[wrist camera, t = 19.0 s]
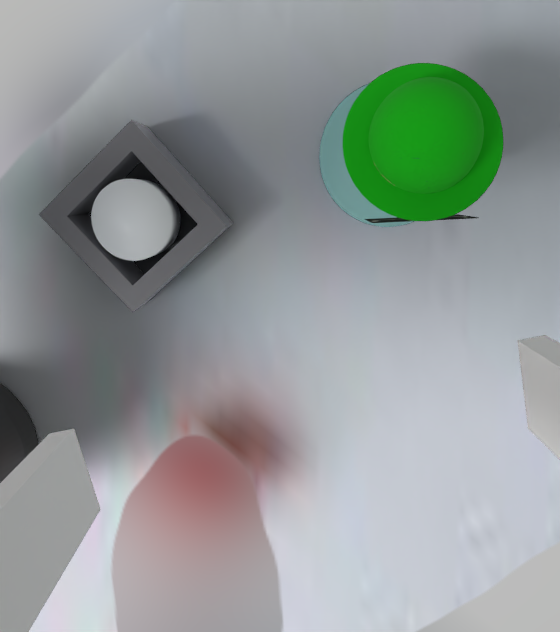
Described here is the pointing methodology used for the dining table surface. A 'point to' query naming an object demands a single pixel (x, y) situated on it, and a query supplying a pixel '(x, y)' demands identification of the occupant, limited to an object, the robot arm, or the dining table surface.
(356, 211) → the pad
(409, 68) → the toy
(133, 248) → the dome
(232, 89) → the dining table surface
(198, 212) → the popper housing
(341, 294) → the dining table surface
